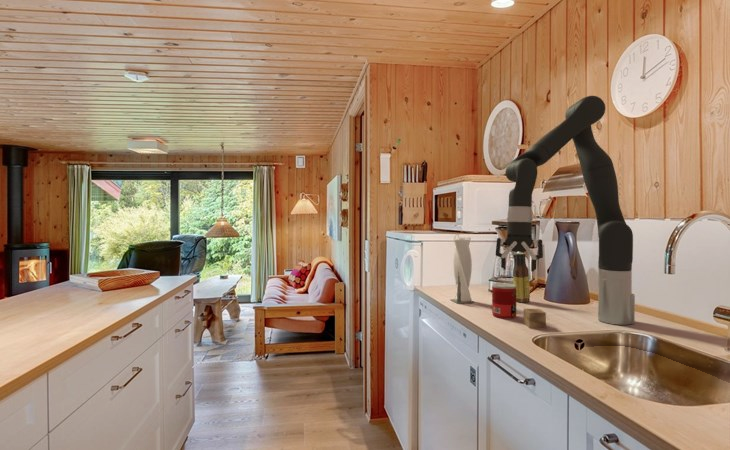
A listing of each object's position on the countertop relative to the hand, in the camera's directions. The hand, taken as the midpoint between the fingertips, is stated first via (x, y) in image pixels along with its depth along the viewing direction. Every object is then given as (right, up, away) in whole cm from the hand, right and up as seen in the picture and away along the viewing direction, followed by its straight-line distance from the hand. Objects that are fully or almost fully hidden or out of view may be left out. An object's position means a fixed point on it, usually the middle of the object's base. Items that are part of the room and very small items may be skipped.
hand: (518, 270), depth 126 cm
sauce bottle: (+14, -17, +33) cm, 39 cm away
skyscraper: (-10, -17, +34) cm, 39 cm away
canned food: (-1, -17, +10) cm, 20 cm away
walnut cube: (+4, -18, -3) cm, 18 cm away
